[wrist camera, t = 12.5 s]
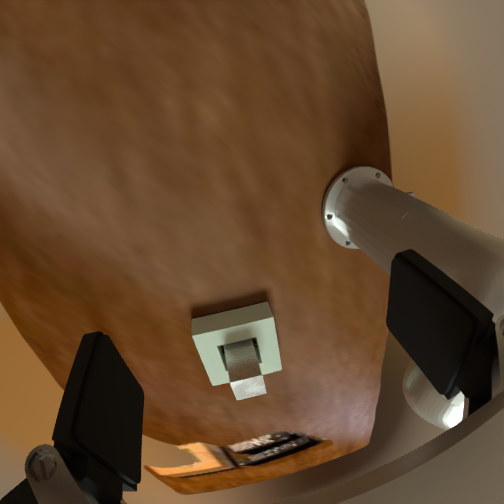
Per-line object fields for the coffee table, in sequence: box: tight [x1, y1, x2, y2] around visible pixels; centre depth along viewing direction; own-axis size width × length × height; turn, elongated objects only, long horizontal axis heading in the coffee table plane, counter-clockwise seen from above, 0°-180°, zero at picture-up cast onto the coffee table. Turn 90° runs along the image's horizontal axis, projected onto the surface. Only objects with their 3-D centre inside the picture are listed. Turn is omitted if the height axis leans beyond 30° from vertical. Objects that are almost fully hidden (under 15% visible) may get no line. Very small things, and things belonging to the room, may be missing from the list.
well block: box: [192, 302, 282, 386], centre depth 46 cm, size 12×12×4 cm
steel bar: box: [224, 338, 266, 400], centre depth 43 cm, size 4×4×11 cm
